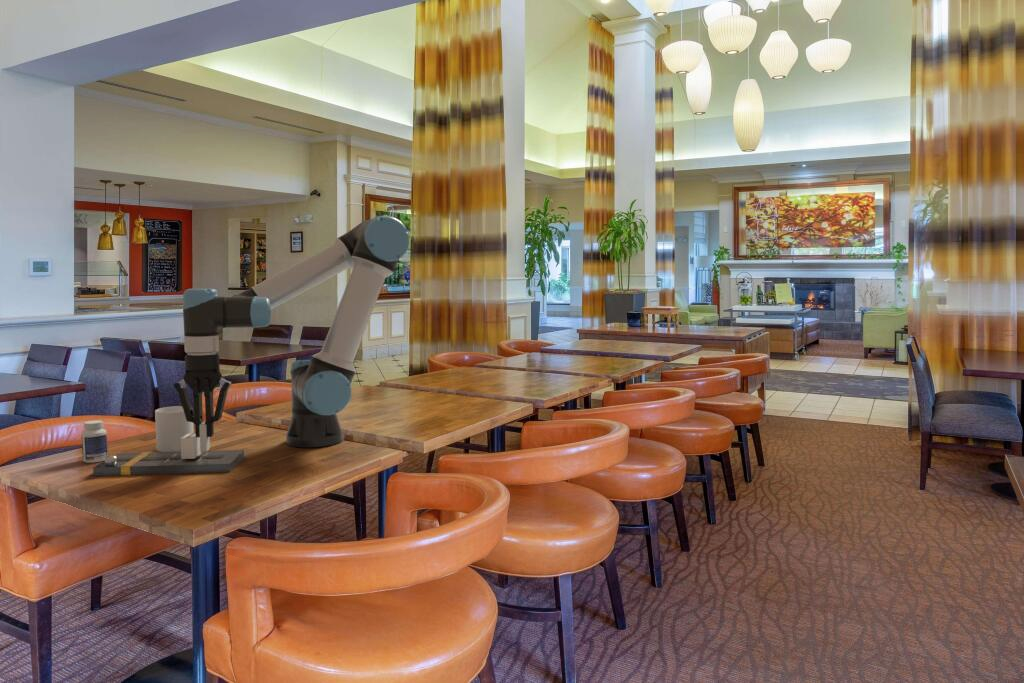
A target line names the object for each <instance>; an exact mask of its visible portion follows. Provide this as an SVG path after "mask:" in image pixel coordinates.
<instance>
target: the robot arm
mask: <svg viewBox="0 0 1024 683" xmlns="http://www.w3.org/2000/svg"><path fill="white" fill-rule="evenodd" d="M409 246H410V235H409V232H408V229H407V228H406V226H405V224H404V223H403V222H402V221H401V220H399V219H398V218H397V217H394V216H389V215H378V216H375V217H373V218H369V219H366V220H364V221H362V222H360V223H359V224H357V225H356V226H355V227H353V228H352V229H350V230H348V231H347V232H345V233H344V234H342V235H340V236H338V237H337V238H335V240H334V243H333V244H331V245H330V246H328V247H326V248H324V249H322V250H320V251H319V252H316V253H314V254H311V256H309V257H306V258H305V259H302V260H301V261H299V262H297V263H295V264H292V265H291V266H290V267H287V268H286V269H284V270H282V271H280V272H278V273H277V274H273V276H270V277H269V278H267V279H265V280H263V281H260V282H259V283H257V284H255V285H253V286H251V287H250V288H248V289H246V290H243V291H242V292H239V293H238V294H234V295H232V296H219V294H218V291H217V289H215V288H188V289H185V290H184V292H183V294H182V300H183V301H182V316H183V317H182V318H183V333H184V335H183V337H184V338H183V340H184V352H185V353H186V355H185V356H184V368H185V370H184V372H185V373H184V375H183V379H181V380H180V381H177V382H174V383H173V388H174V389H175V391H177V393H178V396H179V399H180V403H181V405H182V407H183V410H184V413H185V417H186V420H187V421H188V422H192V423H193V425H194V429H195V430H194V431H195V432H194V433H195V435H196V437H200V451H210V449H211V440H210V438H212V437H213V436H214V433H215V431H214V430H215V429H214V423H215V422H219V421H220V420H221V419H222V417H223V412H224V408H225V403H226V399H227V395H228V390H229V389H231V388H230V387H231V386H232V385H233V382H232V381H231V380H227V379H225V378H223V375H222V373H221V368H220V354H219V353H217V352H219V351H220V347H219V346H220V344H219V343H220V341H219V339H220V338H219V329H225V328H235V329H236V328H255V329H258V328H265V327H266V328H267V327H269V326H270V324H271V320H272V310H274V309H275V308H277V307H278V306H280V305H282V304H284V303H286V302H288V301H290V300H292V299H293V298H295V297H297V296H299V295H301V294H303V293H305V292H306V291H308V290H310V289H312V288H314V287H316V286H318V285H320V284H321V283H324V282H326V281H328V280H329V279H332V277H335V276H337V275H338V274H340V273H342V272H343V271H346V270H347V269H349V270H352V271H351V273H350V276H349V279H348V281H347V284H346V286H345V289H344V291H343V294H342V297H341V298H340V302H339V304H338V306H337V310H336V312H335V314H334V317H333V319H332V322H331V325H330V327H329V330H328V333H327V335H326V337H325V339H324V343H323V344H322V345H323V346H322V347H321V350H320V351H319V352H317V353H315V354H312V357H311V359H301V360H299V359H298V360H294V361H293V362H292V363H291V366H290V371H289V372H290V377H291V380H290V381H291V382H290V383H291V384H290V385H291V412H292V413H291V417H290V420H289V421H290V422H289V424H288V425H289V426H288V429H287V432H286V436H285V439H286V440H285V441H286V442H285V443H286V445H288V446H291V447H295V448H320V447H321V448H323V447H328V446H329V447H330V446H333V445H337V444H340V443H341V442H342V441H343V440H344V438H343V437H344V435H343V430H342V426H341V423H340V421H339V418H338V415H337V414H338V413H340V412H341V411H343V410H344V409H345V408H346V407H347V406H348V404H349V402H350V400H351V397H352V382H353V379H354V377H355V374H356V372H357V370H356V368H355V366H354V361H355V357H356V355H357V352H358V350H359V347H360V345H361V342H362V340H363V337H364V334H365V332H366V329H367V327H368V324H369V321H370V319H371V317H372V314H373V311H374V309H375V306H376V304H377V301H378V298H379V296H380V293H381V291H382V287H383V285H384V282H385V279H386V278H388V277H389V276H392V275H393V274H394V273H395V270H396V268H397V265H398V264H399V263H398V262H399V260H400V259H402V258H403V257H404V256H405V255H406V253H407V251H408V250H409ZM218 384H219V388H220V390H219V392H218V398H217V402H216V405H215V406H216V407H214V392H215V391H214V390H215V388H216V387H217V386H218ZM187 385H188V387H189V388H190V389H191V390H192V397H193V406H192V403H191V399H190V395H189V392H188V389H187ZM203 395H204V408H205V409H204V410H205V411H204V412H205V419H204V418H203V416H204V415H203ZM192 408H193V409H192ZM214 408H215V409H214ZM204 420H205V422H204Z"/></svg>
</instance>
